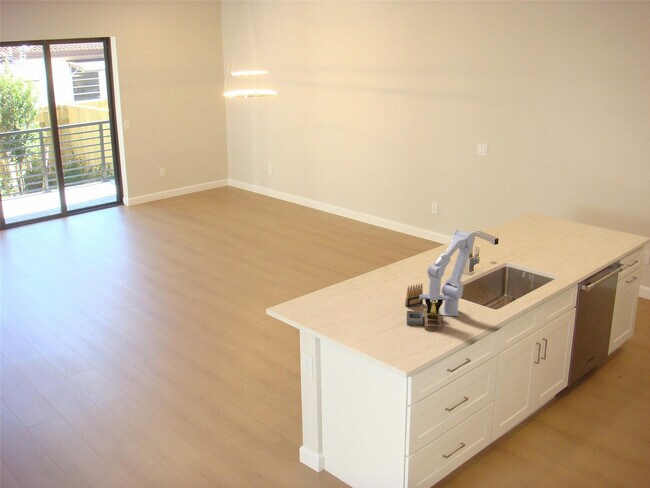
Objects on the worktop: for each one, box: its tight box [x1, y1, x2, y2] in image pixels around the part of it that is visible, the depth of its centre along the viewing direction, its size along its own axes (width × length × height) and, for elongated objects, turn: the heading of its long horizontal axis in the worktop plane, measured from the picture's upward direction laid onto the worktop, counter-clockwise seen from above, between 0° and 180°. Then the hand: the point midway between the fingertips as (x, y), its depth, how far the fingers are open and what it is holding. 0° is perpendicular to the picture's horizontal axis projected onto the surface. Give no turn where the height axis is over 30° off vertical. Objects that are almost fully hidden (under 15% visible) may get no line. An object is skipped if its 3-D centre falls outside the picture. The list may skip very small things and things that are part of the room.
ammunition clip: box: [404, 283, 424, 308], centre depth 384 cm, size 11×2×12 cm, turn 121°
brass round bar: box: [429, 301, 437, 319], centre depth 364 cm, size 4×4×9 cm
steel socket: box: [406, 310, 424, 327], centre depth 367 cm, size 12×8×2 cm, turn 174°
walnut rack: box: [423, 307, 442, 332], centre depth 366 cm, size 21×8×2 cm, turn 174°
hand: (432, 312), depth 365 cm, fingers closed on brass round bar, 3 cm apart
